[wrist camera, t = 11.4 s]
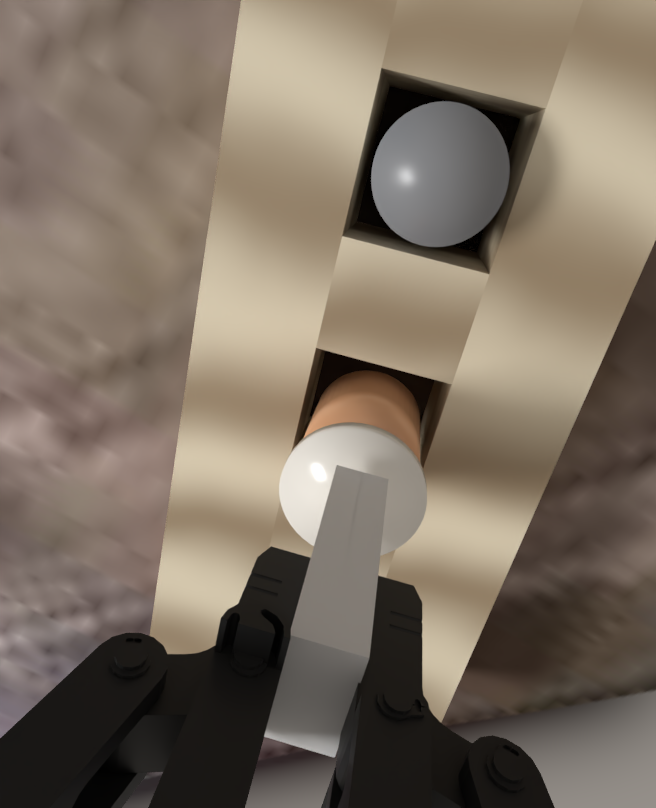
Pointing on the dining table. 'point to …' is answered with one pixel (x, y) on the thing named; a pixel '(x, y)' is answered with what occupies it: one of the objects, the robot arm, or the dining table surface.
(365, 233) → the socket board
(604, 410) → the dining table surface
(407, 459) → the plug terracotta
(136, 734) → the robot arm
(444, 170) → the grey plug
